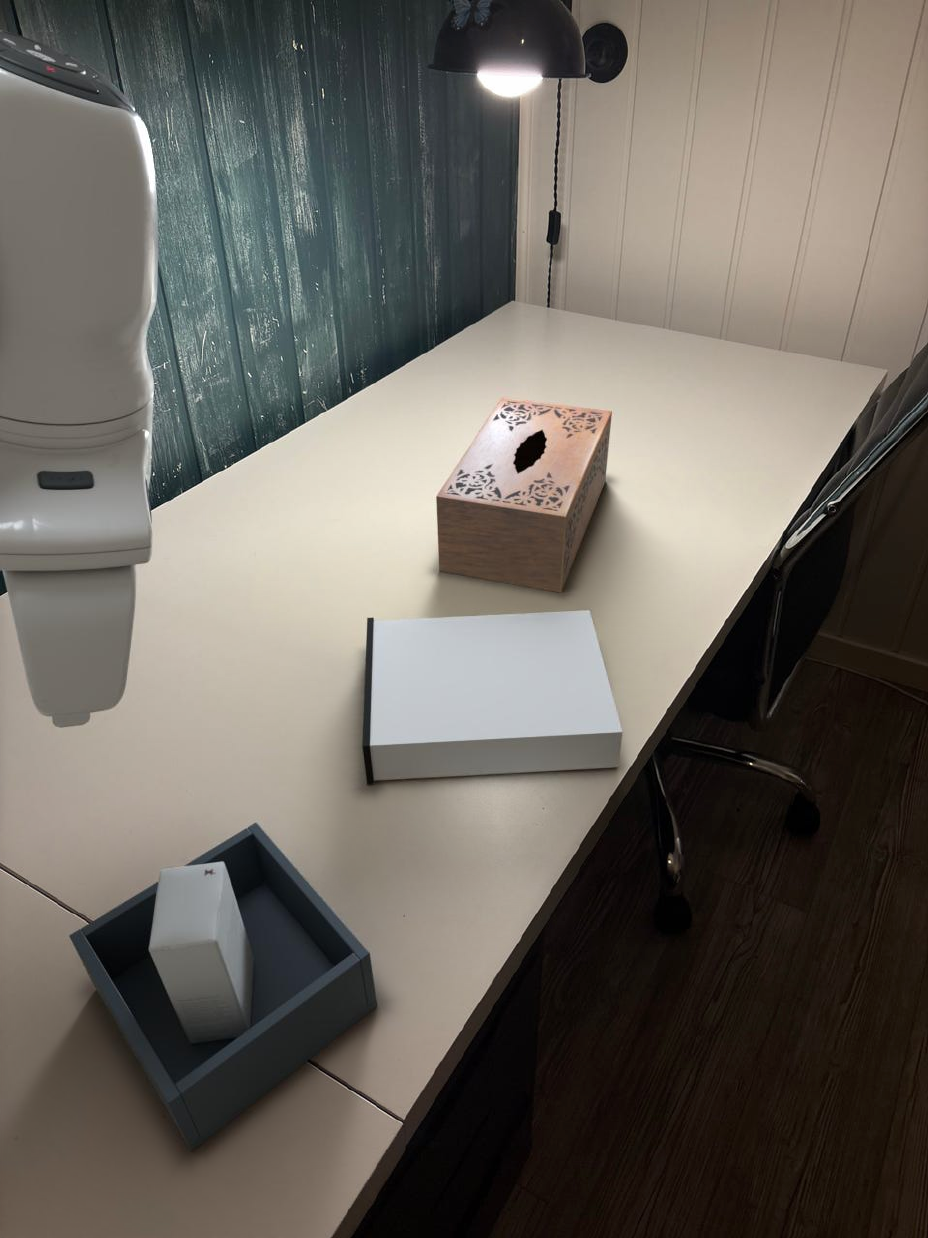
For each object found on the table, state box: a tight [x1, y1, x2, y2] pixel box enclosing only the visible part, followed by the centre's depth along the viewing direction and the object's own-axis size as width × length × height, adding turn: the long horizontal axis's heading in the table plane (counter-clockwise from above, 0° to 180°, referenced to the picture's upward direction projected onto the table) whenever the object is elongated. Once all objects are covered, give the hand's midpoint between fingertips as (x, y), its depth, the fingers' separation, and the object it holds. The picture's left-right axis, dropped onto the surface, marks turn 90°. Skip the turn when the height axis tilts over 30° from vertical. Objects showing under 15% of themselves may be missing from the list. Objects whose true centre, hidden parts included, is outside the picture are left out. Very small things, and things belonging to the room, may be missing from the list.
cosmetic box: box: [149, 862, 254, 1044], centre depth 61 cm, size 6×4×12 cm
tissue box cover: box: [435, 396, 613, 593], centre depth 111 cm, size 26×14×10 cm, turn 162°
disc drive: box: [361, 609, 623, 785], centre depth 87 cm, size 18×22×5 cm
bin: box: [68, 822, 378, 1152], centre depth 64 cm, size 15×15×7 cm
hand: (60, 658), depth 51 cm, fingers open, 8 cm apart
